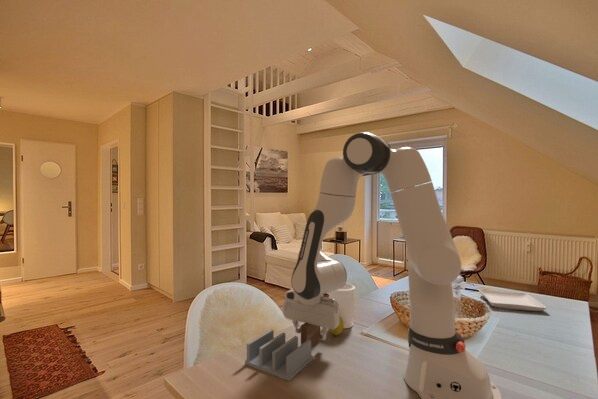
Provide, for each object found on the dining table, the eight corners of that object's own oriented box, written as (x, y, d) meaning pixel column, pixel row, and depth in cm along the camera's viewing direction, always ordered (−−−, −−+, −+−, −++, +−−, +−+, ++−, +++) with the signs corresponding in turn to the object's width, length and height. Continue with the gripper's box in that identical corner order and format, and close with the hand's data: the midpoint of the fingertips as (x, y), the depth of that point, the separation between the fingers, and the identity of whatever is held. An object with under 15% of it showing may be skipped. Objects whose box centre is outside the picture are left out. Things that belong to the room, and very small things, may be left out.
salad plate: (526, 299, 147) (526, 292, 147) (548, 315, 127) (548, 307, 127) (477, 295, 153) (477, 288, 153) (490, 310, 133) (490, 302, 133)
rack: (312, 359, 92) (312, 339, 92) (289, 381, 81) (289, 358, 81) (271, 346, 101) (271, 328, 101) (244, 364, 90) (244, 344, 90)
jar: (323, 324, 119) (322, 286, 119) (340, 317, 125) (340, 281, 125) (344, 332, 111) (343, 292, 111) (361, 325, 117) (360, 286, 118)
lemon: (343, 339, 105) (342, 316, 105) (327, 338, 106) (327, 315, 106) (343, 332, 111) (343, 311, 111) (328, 331, 112) (328, 310, 112)
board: (320, 341, 104) (320, 318, 105) (307, 352, 97) (307, 327, 97) (314, 339, 106) (314, 316, 106) (300, 350, 98) (300, 325, 98)
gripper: (342, 297, 98) (342, 339, 98) (290, 287, 109) (290, 325, 109) (334, 302, 93) (334, 347, 93) (280, 292, 104) (280, 332, 104)
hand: (310, 335), depth 101 cm, fingers open, 8 cm apart
